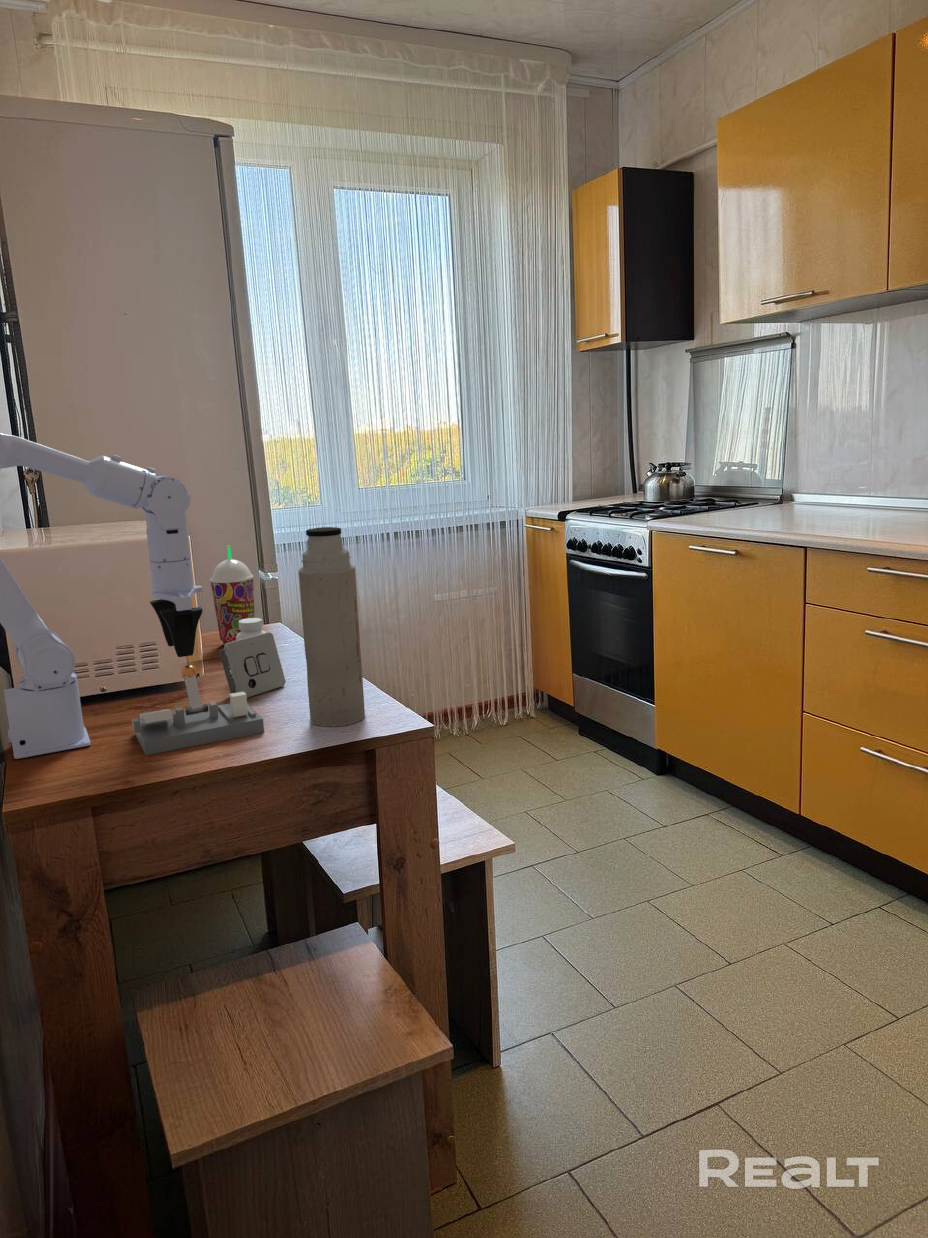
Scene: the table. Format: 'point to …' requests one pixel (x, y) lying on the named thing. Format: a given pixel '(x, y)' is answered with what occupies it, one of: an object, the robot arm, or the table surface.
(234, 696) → the off-white rectangular block
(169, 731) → the panel
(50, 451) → the robot arm
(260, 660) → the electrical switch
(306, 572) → the thermos bottle
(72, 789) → the table surface
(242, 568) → the smoothie
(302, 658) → the table surface
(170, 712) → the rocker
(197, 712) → the lever
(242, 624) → the supplement bottle
